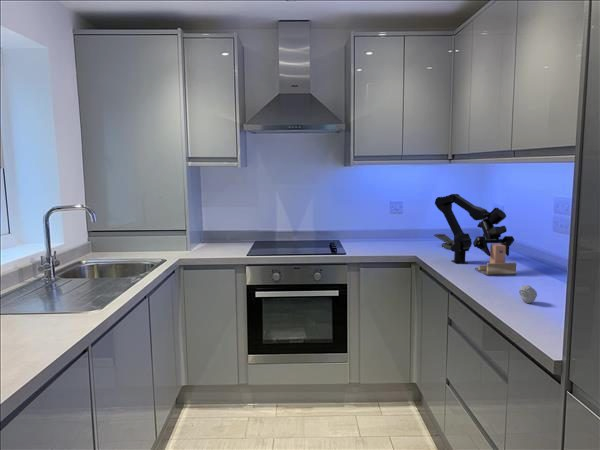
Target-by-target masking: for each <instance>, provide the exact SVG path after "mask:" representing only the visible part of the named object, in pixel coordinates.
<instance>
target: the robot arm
mask: <svg viewBox="0 0 600 450" xmlns="http://www.w3.org/2000/svg"><path fill="white" fill-rule="evenodd" d="M453 204H455V205H457V206H458V207H460V208H461V209H463V210H464V211H466V212H467V213H468V214H469V216H470V217H471V219H473V220H474V221H479V222H478V224H477V228H480V229H481V230H482V232H483V234H482V235H481V236H476V237H475V239H474V240H473V241H472V238H471V237H470V234H469V233H465V232H463V229H462V227H461V225H460V223H459V221H458V220H457V217H456V215H455V213H454V212H453ZM434 205H435V206H436V208H437V209H438V210H439V211H440V212H441V213H442V214H443V216H444V218H445V220H446V222H447V223H448V225H449V228H450V231H451V232H452V234H453V240H454V243H455V244H454V245H453V246H452V247H451V250H450V251H451V252H454V255H453V258H454V259H452V260H451V262H453V263H455V264H468V262H467V261H466V252H469V251H470V248H471V247H472V245H473V247H474V248H476V249H479V250H480V251H482V252H484V254H486V255H487V256H488V257H490V256H491V254H490V249H489V246H488V244H501V245H504V246H506V252H505V256H507V257H509V255H510V246H512V244H513V243H514V242H515V238H514V236H513V235H504V237H503V238H501V235H502V234H504V233H505V234H506V233H507V227H506V225H501V226H495V225H499V224H500V223H501V222H502V221H503V220H505V219H506V218H507V214H506V212H505V211H503V210H502V209H500V208H499V207H494V208H493V209H492V210H491V211H490V212H489V211H488V210H487V209H485V208H483V207H482V206H477V205H474V204H473V203H471V202H470V201H469V200H467V199H465V198H464V197H462V196H461V195H460V194H458V193H451V194H449V195H445V196H438V197H436V198H435V200H434Z"/></svg>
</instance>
